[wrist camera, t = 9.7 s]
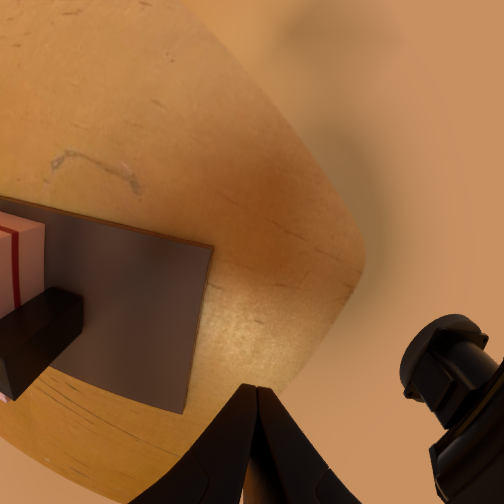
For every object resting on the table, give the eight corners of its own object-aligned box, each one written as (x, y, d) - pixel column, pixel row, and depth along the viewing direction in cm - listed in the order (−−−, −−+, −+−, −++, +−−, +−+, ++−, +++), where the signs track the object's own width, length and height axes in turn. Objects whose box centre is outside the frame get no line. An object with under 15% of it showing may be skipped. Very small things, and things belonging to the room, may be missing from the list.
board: (214, 246, 19) (211, 249, 18) (184, 407, 23) (182, 415, 22) (-15, 191, 19) (-23, 192, 18) (-8, 327, 22) (-14, 331, 21)
